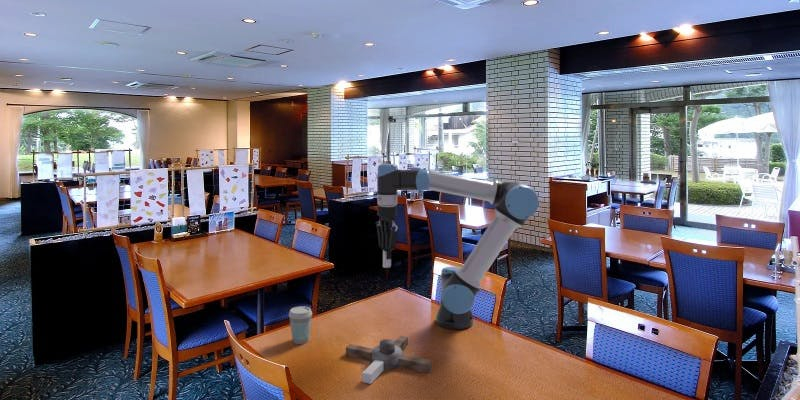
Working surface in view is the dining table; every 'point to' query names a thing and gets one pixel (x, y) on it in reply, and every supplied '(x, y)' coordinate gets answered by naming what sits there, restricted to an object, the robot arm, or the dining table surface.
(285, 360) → the dining table surface
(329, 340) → the dining table surface
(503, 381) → the dining table surface
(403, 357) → the stool base
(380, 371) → the folding leg
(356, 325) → the dining table surface
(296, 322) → the coffee cup
